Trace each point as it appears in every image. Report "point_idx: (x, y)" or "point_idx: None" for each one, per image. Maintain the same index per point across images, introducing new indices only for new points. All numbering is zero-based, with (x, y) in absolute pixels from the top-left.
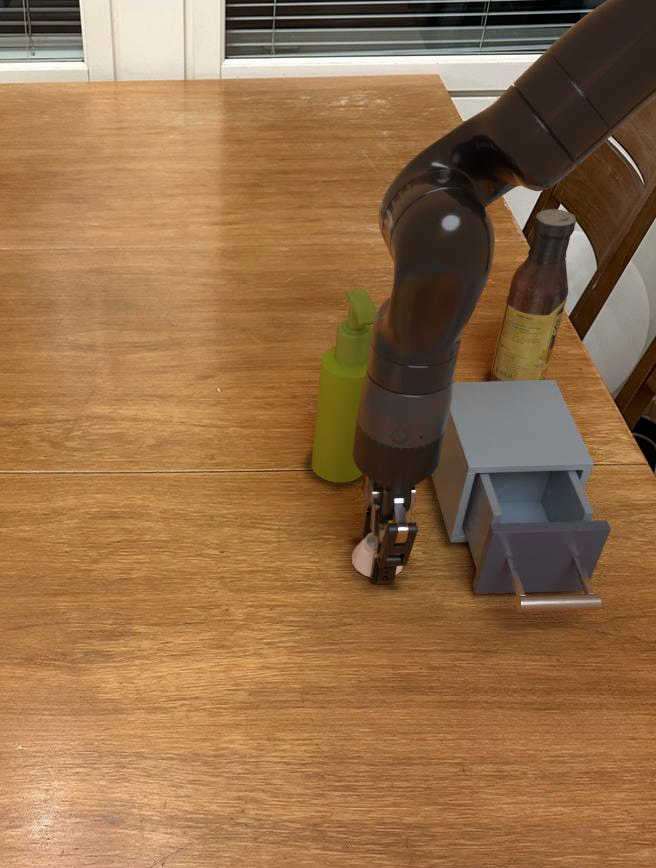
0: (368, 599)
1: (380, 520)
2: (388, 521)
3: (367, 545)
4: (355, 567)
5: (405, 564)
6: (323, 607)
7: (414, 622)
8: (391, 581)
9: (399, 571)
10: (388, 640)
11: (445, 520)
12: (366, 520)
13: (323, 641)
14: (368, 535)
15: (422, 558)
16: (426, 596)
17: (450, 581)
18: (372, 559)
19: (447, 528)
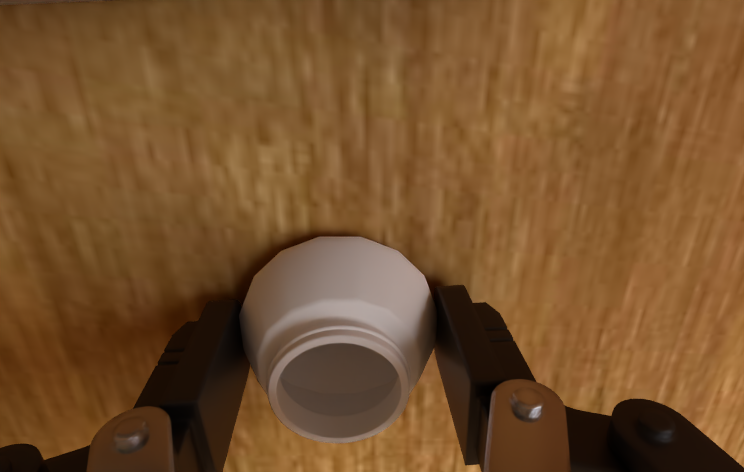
0: None
1: (214, 409)
2: (208, 373)
3: (366, 437)
4: (381, 389)
5: (686, 425)
6: None
7: (640, 215)
8: (496, 312)
9: (404, 257)
10: (693, 299)
11: (16, 3)
12: (225, 459)
13: None
14: (303, 433)
15: (299, 146)
16: (520, 157)
17: (443, 39)
18: (409, 392)
19: (80, 1)
